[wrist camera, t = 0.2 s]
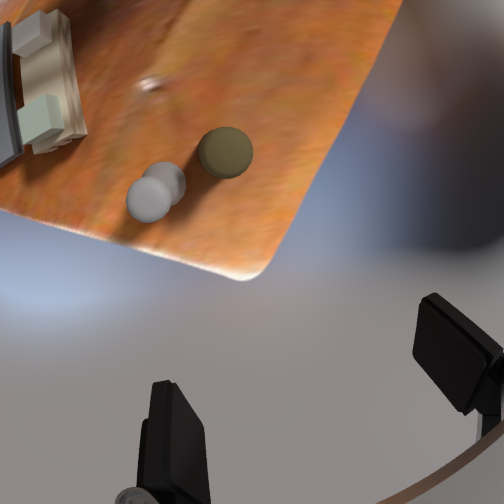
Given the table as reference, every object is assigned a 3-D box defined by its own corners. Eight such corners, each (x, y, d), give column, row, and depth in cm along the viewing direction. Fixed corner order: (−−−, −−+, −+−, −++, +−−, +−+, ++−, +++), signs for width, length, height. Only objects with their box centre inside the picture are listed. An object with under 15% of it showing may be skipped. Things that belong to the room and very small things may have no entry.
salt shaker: (164, 151, 34) (144, 155, 22) (196, 180, 36) (192, 198, 24) (135, 185, 35) (103, 206, 23) (167, 212, 37) (150, 246, 25)
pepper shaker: (202, 178, 36) (201, 191, 26) (193, 133, 34) (188, 128, 24) (248, 168, 37) (265, 178, 27) (240, 124, 34) (254, 116, 24)
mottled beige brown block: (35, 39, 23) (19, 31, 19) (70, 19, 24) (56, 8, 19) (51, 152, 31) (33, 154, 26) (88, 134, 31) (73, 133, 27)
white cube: (25, 33, 19) (12, 27, 16) (50, 17, 19) (39, 9, 16) (25, 57, 21) (12, 52, 18) (52, 41, 21) (39, 34, 18)
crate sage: (31, 112, 24) (17, 111, 21) (58, 96, 25) (45, 93, 21) (37, 143, 26) (23, 144, 23) (64, 128, 26) (51, 128, 23)
